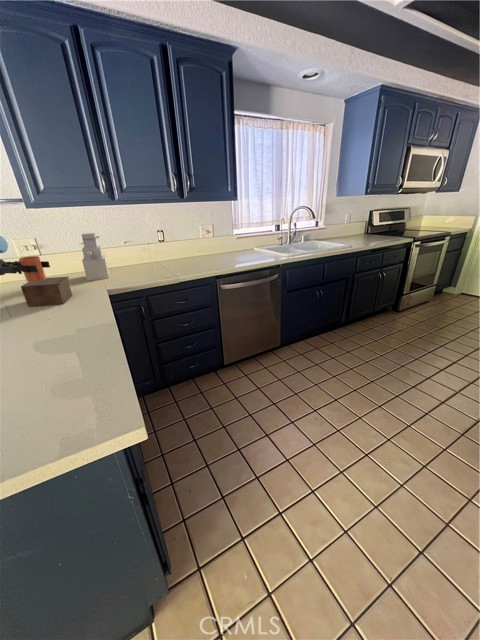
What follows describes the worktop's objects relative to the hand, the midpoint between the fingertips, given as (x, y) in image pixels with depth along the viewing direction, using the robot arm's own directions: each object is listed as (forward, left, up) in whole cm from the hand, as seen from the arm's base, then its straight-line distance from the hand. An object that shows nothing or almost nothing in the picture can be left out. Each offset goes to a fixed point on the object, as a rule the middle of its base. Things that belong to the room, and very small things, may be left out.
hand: (42, 266), depth 120 cm
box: (-3, +12, -20) cm, 24 cm away
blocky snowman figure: (+21, +52, -20) cm, 60 cm away
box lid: (-2, +12, -10) cm, 16 cm away
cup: (-4, +2, -6) cm, 8 cm away
